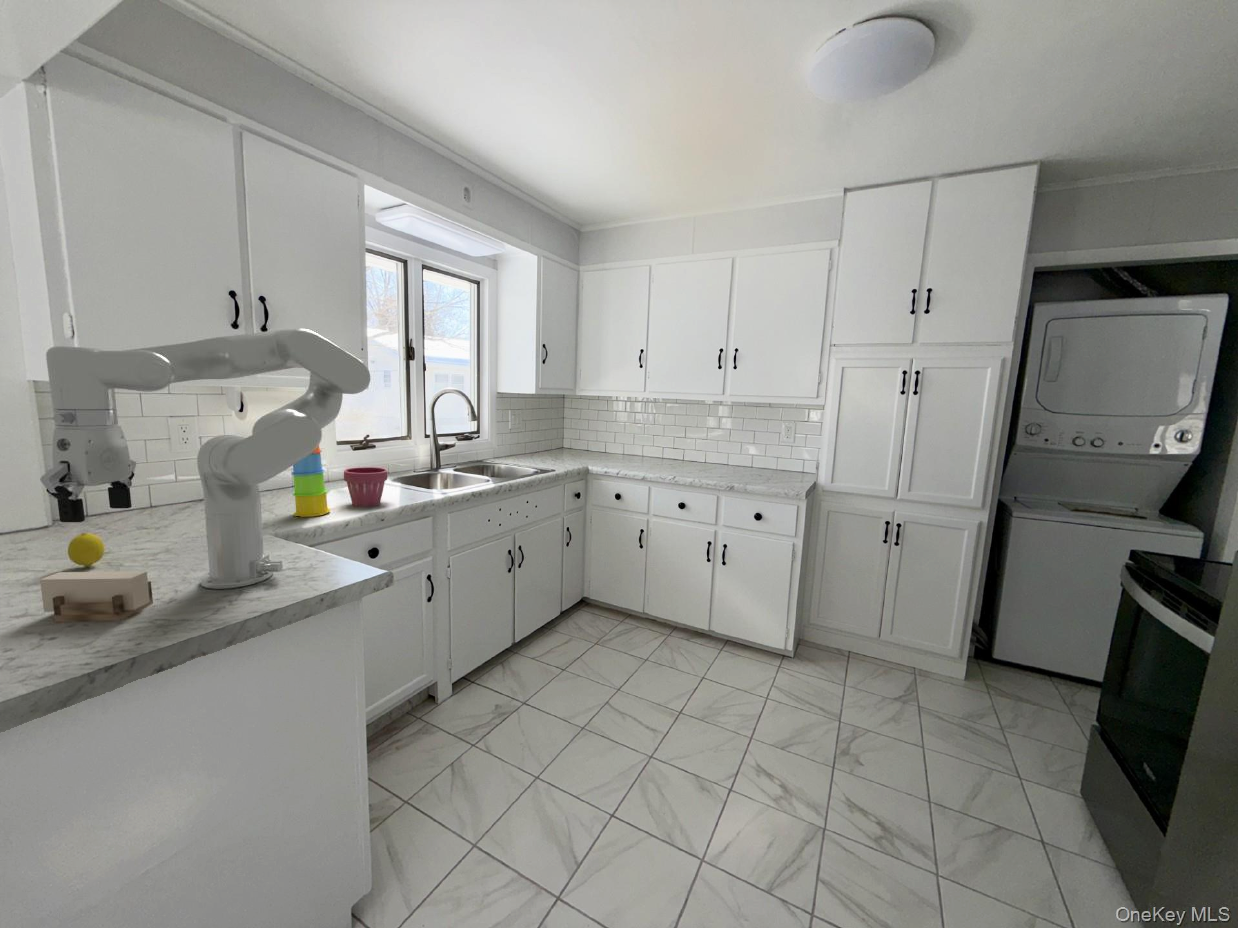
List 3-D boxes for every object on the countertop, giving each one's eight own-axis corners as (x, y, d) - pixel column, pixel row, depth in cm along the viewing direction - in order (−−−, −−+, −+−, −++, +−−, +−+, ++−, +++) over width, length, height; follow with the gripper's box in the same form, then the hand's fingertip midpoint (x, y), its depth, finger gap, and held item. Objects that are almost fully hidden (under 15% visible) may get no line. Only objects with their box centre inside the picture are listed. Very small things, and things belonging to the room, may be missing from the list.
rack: (153, 602, 94) (151, 581, 93) (120, 620, 87) (118, 597, 86) (93, 603, 92) (91, 581, 92) (55, 621, 85) (52, 598, 85)
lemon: (104, 561, 113) (101, 527, 112) (107, 567, 110) (103, 533, 109) (69, 566, 109) (65, 532, 108) (70, 573, 106) (66, 537, 105)
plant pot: (396, 503, 181) (395, 469, 179) (359, 510, 169) (358, 474, 167) (373, 498, 188) (372, 465, 187) (336, 504, 176) (335, 469, 175)
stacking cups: (308, 519, 156) (304, 410, 151) (286, 514, 159) (281, 409, 154) (337, 512, 165) (333, 410, 161) (315, 508, 169) (311, 408, 164)
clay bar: (149, 601, 92) (146, 571, 91) (134, 609, 88) (131, 578, 87) (63, 603, 90) (59, 572, 89) (44, 611, 86) (39, 579, 85)
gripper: (64, 423, 77) (77, 528, 80) (150, 417, 94) (158, 503, 96) (8, 422, 76) (23, 528, 78) (105, 416, 93) (115, 503, 95)
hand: (98, 514), depth 87 cm, fingers open, 9 cm apart
